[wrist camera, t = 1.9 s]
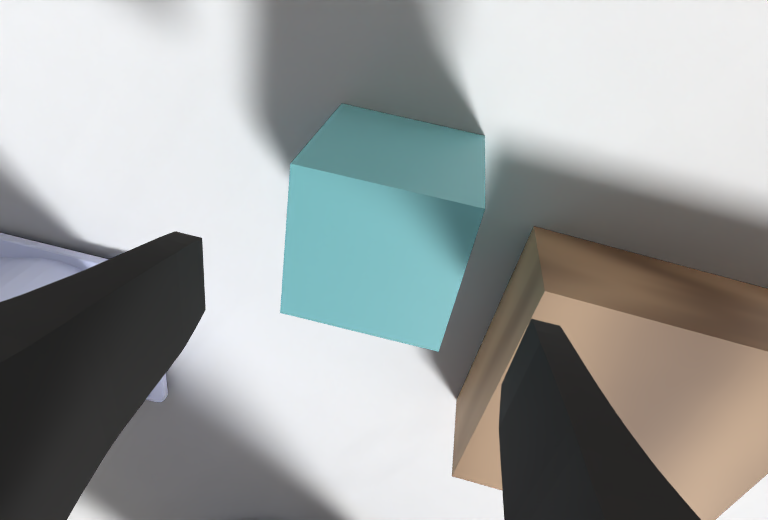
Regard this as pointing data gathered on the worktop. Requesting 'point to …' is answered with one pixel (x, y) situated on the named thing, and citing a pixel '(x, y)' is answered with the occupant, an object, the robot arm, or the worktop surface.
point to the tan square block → (637, 363)
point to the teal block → (382, 224)
